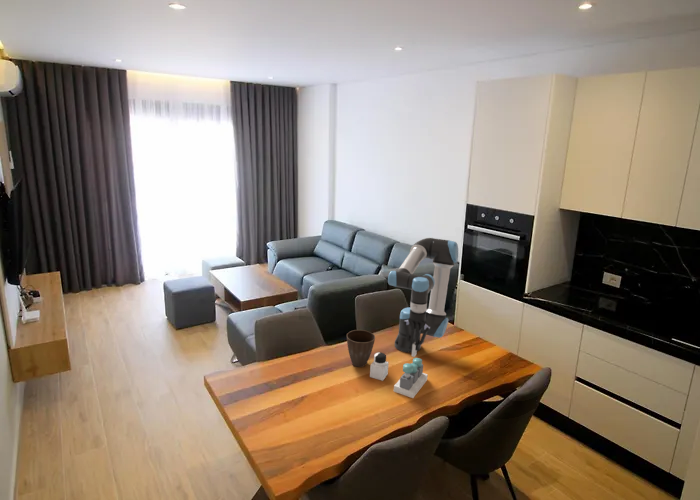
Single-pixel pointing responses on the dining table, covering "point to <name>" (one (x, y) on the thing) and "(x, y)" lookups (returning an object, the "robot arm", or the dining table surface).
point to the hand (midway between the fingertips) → (413, 355)
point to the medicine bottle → (379, 367)
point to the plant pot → (360, 346)
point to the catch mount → (411, 383)
